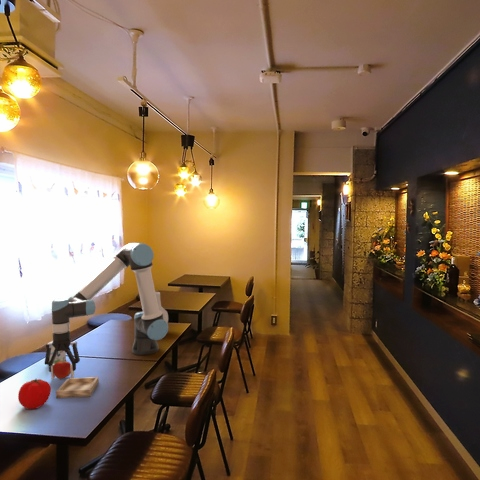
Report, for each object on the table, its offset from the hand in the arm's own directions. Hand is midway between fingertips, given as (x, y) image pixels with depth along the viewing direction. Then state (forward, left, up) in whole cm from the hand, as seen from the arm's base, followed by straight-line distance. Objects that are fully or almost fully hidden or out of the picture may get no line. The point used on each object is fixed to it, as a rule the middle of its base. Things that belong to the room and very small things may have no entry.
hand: (62, 377), depth 185 cm
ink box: (+11, -23, -1) cm, 26 cm away
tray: (-12, +15, 0) cm, 19 cm away
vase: (-36, -70, -1) cm, 79 cm away
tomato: (+1, +28, -1) cm, 28 cm away
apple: (0, 0, -1) cm, 1 cm away
